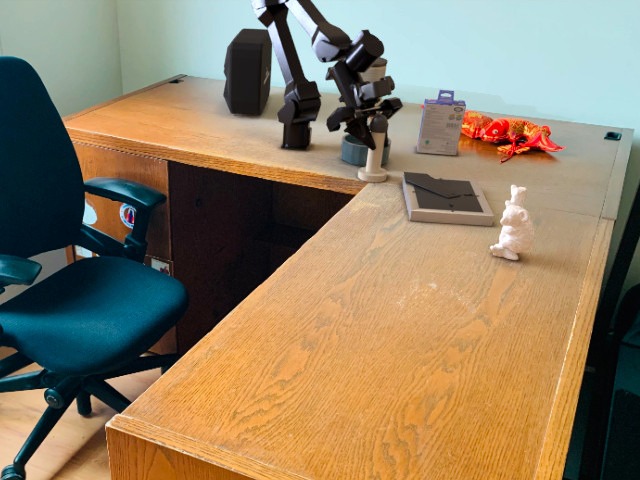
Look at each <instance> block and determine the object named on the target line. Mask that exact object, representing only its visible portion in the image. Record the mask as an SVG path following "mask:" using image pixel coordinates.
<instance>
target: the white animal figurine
mask: <svg viewBox="0 0 640 480" xmlns="http://www.w3.org/2000/svg"><path fill="white" fill-rule="evenodd" d="M527 192H528V189H527V187H523V186H519V187H517V185H516V184H511V185H510V193H511V198H510V200H509V199H508V200H505V207H506V208H505V209H504V211H503V213H502V218H501V219H500V221H499V223H500V225H502V228H501V231H500V234H499V237H498V241H499V242H498V243H495V244H494V245H490V246H489V249H490V251H491V252H492V255H493V256H495V257H499V258H504V259H507V260H512V261H517V260H519V255H518V254H521V253H525V252H527V251H529V250H530V249H531V248H532V246H533V244H534V240H535V236H536V235H535V234H536V233H535V232H536V231H535V229H534V223H533V221H532V219H531V217H530V213H529V211H528V210H527V209H525V208H524V207H523V206H524V203H525V200H526V199H525V198H526V196H527Z"/></svg>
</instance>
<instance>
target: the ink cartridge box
mask: <svg viewBox="0 0 640 480" xmlns="http://www.w3.org/2000/svg"><path fill="white" fill-rule="evenodd" d="M443 94H448V95H450V96H443ZM454 97H455V90H446V89H439V90H438V95H437V99H432V98H431V99H430V98H425V99H424V104H423V108H422V114H421V121H420V127H419V134H418V141H417V146H416V153H418V154H419V153H421V154H434V155H448V156H457V153H458V148H459V144H460V139H461V134H462V130H463V129H462V128H463V123H464V119H465V114H466V110H467V109H466V108H467V104H466V101H465V100H457V99H456V100H455V98H454Z"/></svg>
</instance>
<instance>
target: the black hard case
mask: <svg viewBox="0 0 640 480" xmlns="http://www.w3.org/2000/svg"><path fill="white" fill-rule="evenodd" d="M226 47H227V48H226V53H225V58H224V64H223V74H224V77H225V83H224V89H223V93H222V95H223V99H224V100H225V103H226V106H227V108H228V110H229V113H230V114H232V115H246V116H247V115H249V116H261V115H262V114H263V112H264V110H265V108H266V106H267V103H268V100H269V97H270V94H271V84H272V83H271V82H272V81H271V80H272V65H273V64H272V63H273V61H272V60H273V44H272V41H271V38H270V35H269V32H268V29H267V28H266V29H265V28H242V29H241V30H239V32H238V33H237V34H236V35H235V36H234V38H233V39H232V41H231V42H230V43H229V45H227V46H226Z"/></svg>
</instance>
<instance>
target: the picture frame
mask: <svg viewBox="0 0 640 480" xmlns="http://www.w3.org/2000/svg"><path fill="white" fill-rule="evenodd" d="M401 181H402V182H401V186H402V190H403V195H404V200H405V204H406V209H407V214H408V219H409V221H410V222H423V223H424V222H425V223H438V224H439V223H440V224H451V225H452V224H453V225H454V224H455V225H469V226H483V227H492V226H493V223H494V219H495V215H494V213H493V211H492V209H491V207H490V204H489V203H488V201H487V198H486V196H485V194H484V193H483V191H482V188H481V186H480V184H479V182H478V180H477V179H476V178H461V177H460V178H459V177H448V176H447V177H446V176H431V175H430V174H429V173H423V172H413V171H403V176H402V180H401Z"/></svg>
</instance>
